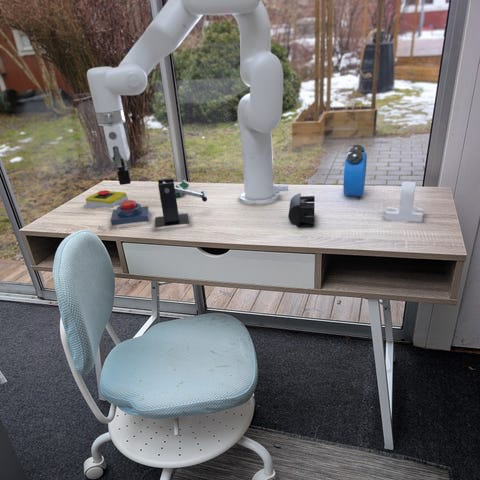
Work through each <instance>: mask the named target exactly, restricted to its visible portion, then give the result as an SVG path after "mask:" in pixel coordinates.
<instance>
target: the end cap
mask: <svg viewBox="0 0 480 480" xmlns="http://www.w3.org/2000/svg"><path fill="white" fill-rule="evenodd" d="M301 195H302V194H301V192H300V193H296V194H294V195H293V196H292V197H291V198H290V201H289V207H288V220H289V222H290V223H291V224H292V225H293V226H295V227H297V228H301V229H304V228H305V229H308V228H309V229H311V228H315V210H316V209H315V201H316V200H315V199H316V196H315V195H305V196H304V195H302V196H301Z"/></svg>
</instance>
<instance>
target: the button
mask: <svg viewBox="0 0 480 480" xmlns="http://www.w3.org/2000/svg"><path fill="white" fill-rule="evenodd" d="M136 203H137V202H136V201H135V200H133V199H128V201H124V202H122V203H121V208H122V210H131V209H134V208H136Z"/></svg>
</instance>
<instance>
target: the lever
mask: <svg viewBox="0 0 480 480" xmlns="http://www.w3.org/2000/svg"><path fill="white" fill-rule="evenodd" d="M163 183H167V182H163ZM174 188H175V192H178V193H181V194H182V195H187V196H192V197H196V198H200V199H201V200H202V202H204V203H205V202H207V201H208V197H207V193H206V191H204V190H202V191H201V192H196V191H192V190H189V189H185V190H184V189H180V188H176V186H175V187H174Z"/></svg>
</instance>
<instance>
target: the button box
mask: <svg viewBox="0 0 480 480" xmlns="http://www.w3.org/2000/svg"><path fill="white" fill-rule="evenodd" d="M135 203H136V208H134V209H131V210H122V208H121V205H119V206H116V209H112V213H111V217H110V223H111V224H110V225H111V226H119V225H129V224H134V223H135V224H137V223H143V222H149V220H150V219H149V218H150V209H149V208H150V207H149V205H143V206H142V204H140V203H138V202H135Z"/></svg>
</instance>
